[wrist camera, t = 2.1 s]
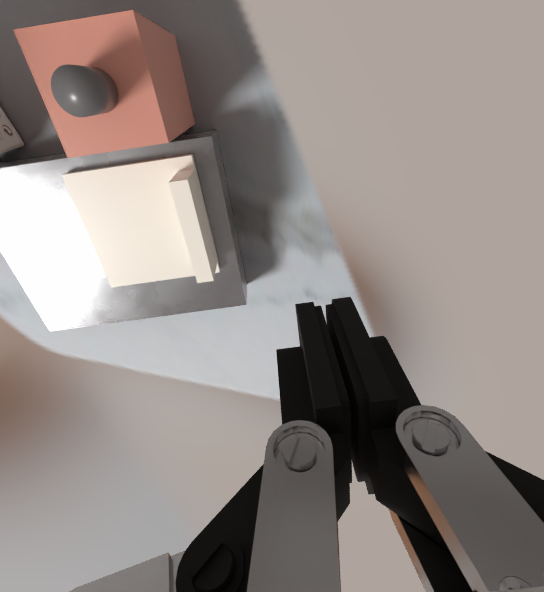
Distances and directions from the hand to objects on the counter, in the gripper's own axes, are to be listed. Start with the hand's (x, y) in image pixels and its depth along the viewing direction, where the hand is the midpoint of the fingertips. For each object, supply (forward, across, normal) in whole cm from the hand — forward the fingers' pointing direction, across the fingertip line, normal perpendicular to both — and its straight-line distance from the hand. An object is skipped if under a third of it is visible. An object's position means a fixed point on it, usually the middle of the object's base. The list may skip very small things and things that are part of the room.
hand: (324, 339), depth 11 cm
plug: (+16, +7, -8) cm, 19 cm away
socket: (+16, +11, +1) cm, 20 cm away
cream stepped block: (+13, +9, 0) cm, 16 cm away
